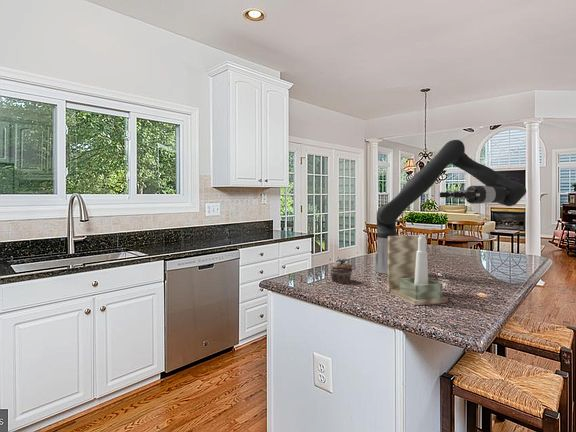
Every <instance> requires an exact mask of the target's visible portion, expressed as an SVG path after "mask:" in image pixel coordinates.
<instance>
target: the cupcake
mask: <svg viewBox="0 0 576 432" xmlns="http://www.w3.org/2000/svg"><path fill="white" fill-rule="evenodd" d="M329 272H330V279H331V282H332V281H333V283H335V282H336V284H347V282H348V283H350V282H349V281H351V277H352V274H353V273H352V272H353V269H352V264H350V262H349V260H348V259H347V258H342V259H341V258H338V259H337V260H336V261H335V262H334V263H333V264H331V268H330V270H329Z"/></svg>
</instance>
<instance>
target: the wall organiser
mask: <svg viewBox="0 0 576 432" xmlns="http://www.w3.org/2000/svg"><path fill="white" fill-rule="evenodd" d="M419 235H420V234H417V235H416V234H414V235H409V234H408V235H397V236H388V274H386V275H387V278H386V279H387V280H386V281H387V283H386V284H387V288H386V290H387V291H386V292H387V293H391V294H392V295H394V296H396V297H398V298H399V299H402V300H403V301H405V302H407V303H410V304H412V305H413V306H420V305H433V304H443V303H444V304H447V303H448V298H447V297H445V296H443V283H442V282H439V281H436V280H433V279H430V278H428V284H423V285H415V284H414V280H415V268H416V253H417V251H418V238H419ZM424 235H425V238H426V239H427V235H426V234H424Z"/></svg>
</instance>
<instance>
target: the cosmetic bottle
mask: <svg viewBox="0 0 576 432" xmlns="http://www.w3.org/2000/svg"><path fill="white" fill-rule="evenodd" d="M418 235H419V238H418V251H417V253H416V268H415V280H414V284H415V285H423V284H428V279H429V270H428V269H429V265H428V264H429V263H428V251H427V237H426V238H425V235H426V234H418Z"/></svg>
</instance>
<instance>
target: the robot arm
mask: <svg viewBox="0 0 576 432" xmlns="http://www.w3.org/2000/svg"><path fill="white" fill-rule="evenodd" d="M449 165H453V166H454V167H456V168H458V169H460V170H462V171H464V172H466V173H467V174H469V175H471V176H472V177H473V178H475V179H476V180H478V181H479V182H480V183H481V184H483V185H470V186H468V187H467V188H466V190H465V189H461V190H453V191H446V192H445V191H442V192H439V198H446V199H450V198H452V199H453V200H466V202H467V203H469V204H472V205H473V204H474V205H475V204H483V205H484V204H490V203H491V204H493V203H494V204H495V203H496V204H500V205H503V206H506V207H512V206H515V205H516V204H518V203H519V201H520V200H522V199H523V198H524V197H525V195H526V194H527V189H526V186H525V185H523V184H522V183H520V182H517V181H514V180H511V179H509V178H507V177H505V176H503V175H501V174H499V173H498V172H497V171H495V170H494V169H492V168H490V167H489V166H487V165H484V164H482V163H479V162H477V161H475V160H473V159H472V158H471V157H470V156H469V155H467V154H466V152H465V144H464V142H463V141H462V140H461V139H460V140H459V139H451V140H449V141H448V142H446V143H445V144H444V145H443V146H442V148H441V149H440V150H439V151H438V152H437V153H436V154H435V155H434V156H433V158H432V159H431V160H430V161H428V163H426V164H425V165H424V166H423V167H421V169H420V170H419V171H417V172H416V173H415V174H414V175H413V176H412V177H411V178H410V179H409V180H408V181H407V182H406V184H405V185H404V186H403V187H402V188H401V190H400V191H399V193H398V194H397V195H396V196H395V197H393V198H392V200H390V201H389V202H387V204H382V205H381V206H380V207H379V208H378V209H377V211H376V236H377V237H376V245H377V246H376V252H375V273H379V274H383V275H384V274H385V275H388V236H398V232H397V223H396V222H397V220H398V219H399V218H400V216H401V215H402V214H403V213H404V212H405V210H406V209H407V208H408V207H409V206H410V205H412V204H413V203H414V202H415V201H417V200H418V199H419V198H421V196H423V195H424V194H425V193H426V192H427V191H428V190H429V189H430V188H431V187H432V186H434V184H435V183H436V181H437V179H438V178H439V177H440V175H442V172H443V171H444V170H445V169H446V168H447V167H448V166H449Z"/></svg>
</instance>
